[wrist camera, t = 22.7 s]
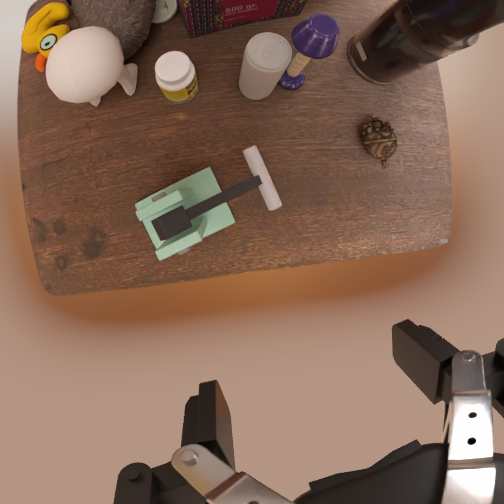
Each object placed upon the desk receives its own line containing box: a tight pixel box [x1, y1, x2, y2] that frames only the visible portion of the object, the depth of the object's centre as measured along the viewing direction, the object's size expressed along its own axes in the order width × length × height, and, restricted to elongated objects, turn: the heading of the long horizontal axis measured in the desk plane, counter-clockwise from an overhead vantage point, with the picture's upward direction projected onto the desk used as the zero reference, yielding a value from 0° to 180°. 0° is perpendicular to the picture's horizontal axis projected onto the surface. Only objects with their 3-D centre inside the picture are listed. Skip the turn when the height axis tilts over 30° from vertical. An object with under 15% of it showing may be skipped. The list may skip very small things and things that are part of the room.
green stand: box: [135, 167, 236, 261], centre depth 33 cm, size 11×8×14 cm
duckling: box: [22, 3, 70, 72], centre depth 28 cm, size 11×5×10 cm
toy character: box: [46, 26, 138, 106], centre depth 27 cm, size 9×9×15 cm
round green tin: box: [152, 0, 178, 24], centre depth 31 cm, size 5×1×15 cm
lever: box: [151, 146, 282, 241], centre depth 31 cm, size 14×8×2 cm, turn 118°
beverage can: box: [239, 32, 292, 100], centre depth 31 cm, size 5×5×12 cm
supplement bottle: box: [155, 51, 198, 103], centre depth 32 cm, size 5×5×8 cm
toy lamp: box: [278, 13, 339, 90], centre depth 29 cm, size 5×5×17 cm
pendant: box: [362, 116, 397, 169], centre depth 38 cm, size 5×8×5 cm, turn 14°
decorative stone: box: [71, 0, 156, 60], centre depth 27 cm, size 20×14×5 cm
